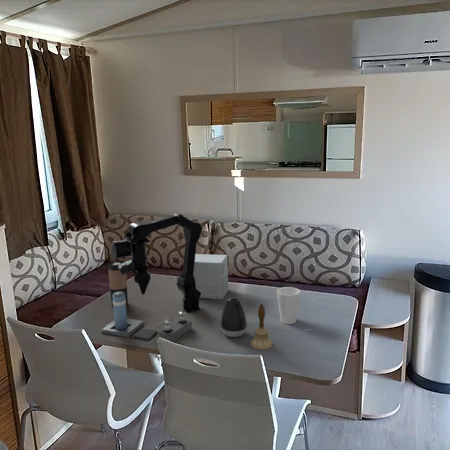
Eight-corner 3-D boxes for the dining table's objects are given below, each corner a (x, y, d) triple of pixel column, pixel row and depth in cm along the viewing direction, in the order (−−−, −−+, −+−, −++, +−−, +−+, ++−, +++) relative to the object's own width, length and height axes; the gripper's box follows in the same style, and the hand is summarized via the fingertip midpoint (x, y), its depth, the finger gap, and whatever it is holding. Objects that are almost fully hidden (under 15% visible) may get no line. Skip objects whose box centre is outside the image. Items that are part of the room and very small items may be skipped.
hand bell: (277, 345, 167) (277, 304, 164) (259, 352, 162) (259, 310, 159) (262, 336, 174) (262, 297, 170) (245, 343, 169) (245, 303, 165)
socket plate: (143, 324, 187) (143, 320, 186) (127, 337, 176) (127, 333, 175) (119, 320, 191) (118, 317, 190) (101, 332, 180) (101, 329, 180)
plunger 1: (171, 328, 175) (171, 318, 174) (173, 332, 172) (173, 322, 171) (162, 330, 174) (161, 319, 173) (164, 334, 171) (163, 323, 170)
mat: (157, 332, 179) (157, 330, 179) (148, 340, 173) (148, 338, 172) (142, 330, 181) (142, 328, 181) (132, 337, 175) (132, 335, 175)
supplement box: (229, 289, 223) (228, 254, 219) (222, 300, 211) (221, 262, 207) (195, 287, 227) (194, 253, 223) (187, 297, 214) (185, 261, 210)
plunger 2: (186, 319, 183) (185, 310, 182) (188, 323, 180) (187, 313, 179) (177, 321, 182) (176, 311, 181) (179, 324, 178) (178, 314, 178)
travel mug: (124, 308, 203) (120, 265, 199) (108, 307, 205) (104, 265, 200) (130, 301, 211) (127, 260, 206) (115, 300, 212) (112, 260, 208)
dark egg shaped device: (228, 342, 170) (228, 305, 166) (216, 332, 179) (215, 295, 175) (252, 336, 174) (251, 299, 171) (239, 326, 183) (238, 290, 180)
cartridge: (127, 326, 185) (124, 290, 182) (128, 331, 180) (125, 294, 177) (114, 328, 184) (111, 292, 180) (115, 333, 179) (112, 296, 176)
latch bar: (181, 325, 185) (180, 318, 184) (191, 328, 182) (191, 321, 181) (158, 339, 173) (158, 331, 172) (169, 342, 170) (169, 335, 170)
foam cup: (286, 314, 194) (286, 285, 191) (304, 320, 187) (304, 290, 184) (272, 321, 187) (272, 291, 184) (290, 327, 181) (290, 297, 178)
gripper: (117, 250, 190) (120, 285, 193) (119, 263, 172) (123, 301, 176) (144, 247, 193) (147, 281, 196) (149, 259, 175) (152, 297, 179)
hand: (141, 290), depth 187 cm, fingers open, 9 cm apart
